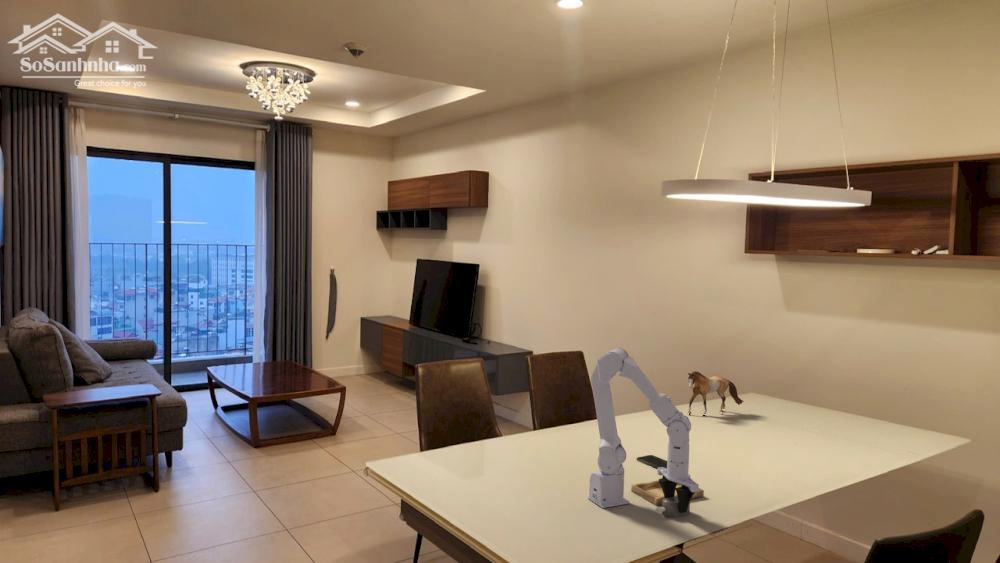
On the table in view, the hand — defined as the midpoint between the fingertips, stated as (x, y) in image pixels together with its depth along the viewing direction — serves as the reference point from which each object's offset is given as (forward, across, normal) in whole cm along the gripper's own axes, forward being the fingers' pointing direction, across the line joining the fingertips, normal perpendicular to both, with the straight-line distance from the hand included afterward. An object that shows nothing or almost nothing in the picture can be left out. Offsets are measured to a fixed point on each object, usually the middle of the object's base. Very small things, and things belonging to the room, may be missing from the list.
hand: (676, 508), depth 173 cm
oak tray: (+1, +12, -7) cm, 14 cm away
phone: (+2, +34, -22) cm, 41 cm away
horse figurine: (+2, +78, -90) cm, 119 cm away
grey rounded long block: (+2, 0, 0) cm, 2 cm away
